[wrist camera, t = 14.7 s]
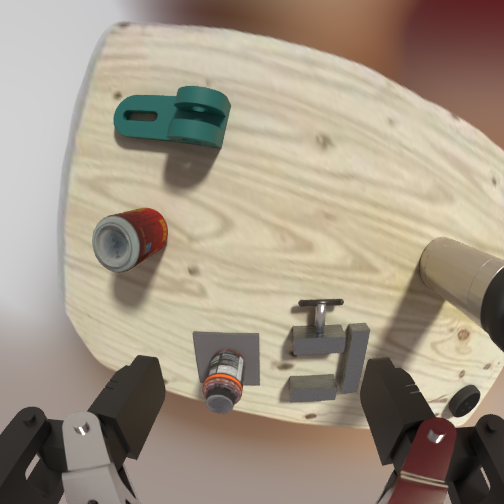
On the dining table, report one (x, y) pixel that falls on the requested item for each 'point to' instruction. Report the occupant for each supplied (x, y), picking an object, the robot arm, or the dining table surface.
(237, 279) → the dining table surface
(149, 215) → the soda can
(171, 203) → the dining table surface
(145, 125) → the bracket
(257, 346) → the mat
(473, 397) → the smart speaker
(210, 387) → the supplement bottle
